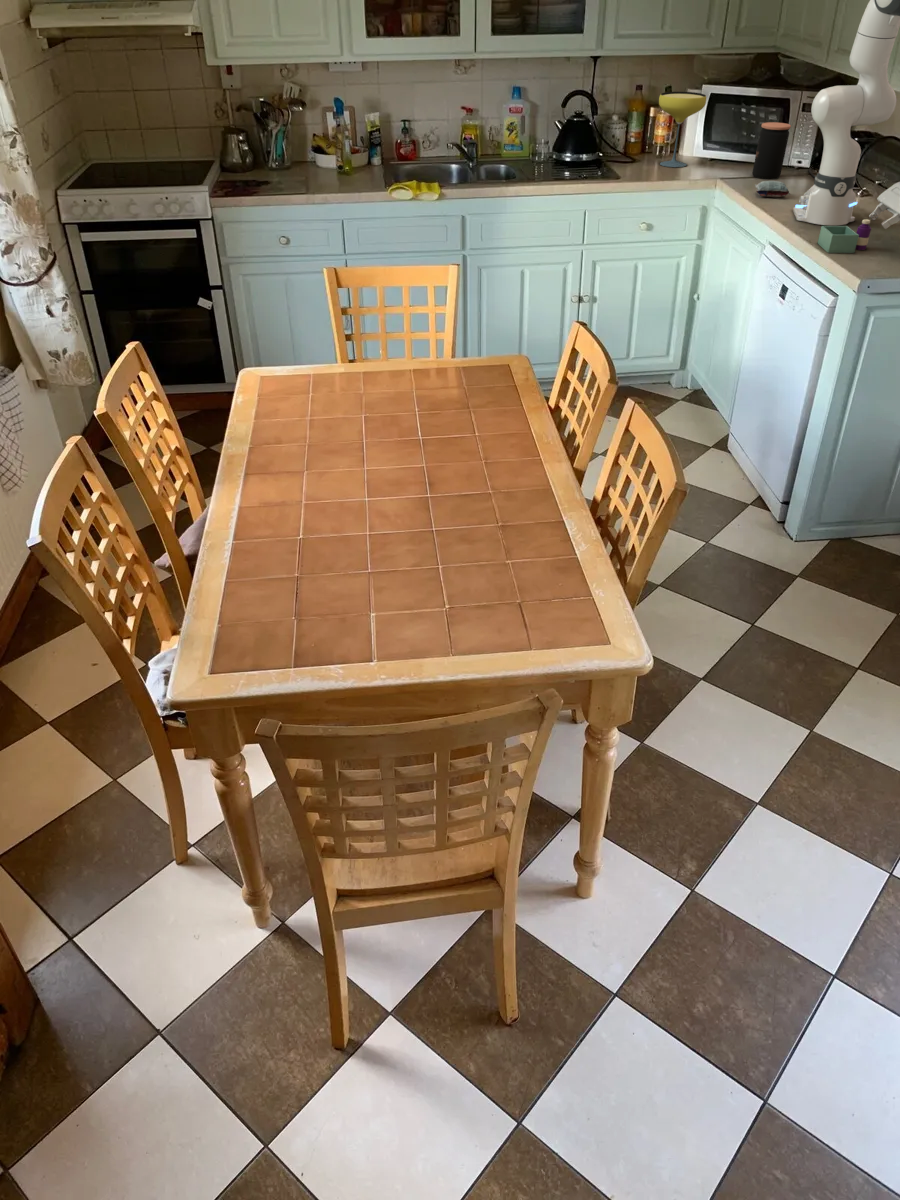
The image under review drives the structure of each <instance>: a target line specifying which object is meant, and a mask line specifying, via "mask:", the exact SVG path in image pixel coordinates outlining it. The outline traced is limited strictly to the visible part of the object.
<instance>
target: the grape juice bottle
mask: <svg viewBox="0 0 900 1200" xmlns="http://www.w3.org/2000/svg"><path fill="white" fill-rule="evenodd" d="M870 224H871V219H867V218H866V219H862V221H861V224H860V225H858V226H857V229H856V233H857V234H858V235H859V237H858V241H857V244H856V248H855V250H856V251H865V250H867V246H868V243H869V240H870V239H869V238H870V235H871V231H872V227H871V225H870Z"/></svg>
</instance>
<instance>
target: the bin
mask: <svg viewBox="0 0 900 1200" xmlns="http://www.w3.org/2000/svg"><path fill="white" fill-rule="evenodd" d="M856 232H857V231H856ZM856 232H855V231H854V230H853V229H852V228H850V227H849V226H848V225H821V227H820V231H819V234H818V239H817V245H818V246H819V247H821V248H822V249H823V250H824V251H825V252H826V253H828V254H855V251H856V249H855V248H856V244H857V241H858V237H859V235H858V234H857V233H856Z"/></svg>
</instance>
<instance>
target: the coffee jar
mask: <svg viewBox="0 0 900 1200" xmlns="http://www.w3.org/2000/svg"><path fill="white" fill-rule="evenodd" d="M791 127H792V125H791V124H790V123H785V122H776V121H774V122H773V121H770V122H769V121H768V122H762V123H761V130H760V131H759V136H758V142H757V146H756V151H755V152H756V153H755V157H754V162H753V163H754V164H753V167H752V175H753V177H754V178H757V179H761V180H775V179H776V180H777V179H778V178H779V177H780V176H781V174H782V170H783V166H784V161H785V155H786V151H787V146H788V141H789V137H790V129H791Z"/></svg>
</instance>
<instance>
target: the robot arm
mask: <svg viewBox="0 0 900 1200" xmlns="http://www.w3.org/2000/svg"><path fill="white" fill-rule="evenodd" d="M899 29H900V0H869V1H868V2H867V4H866V7H865V9H864V12H863V13H862V16H861V19H860V22H859V25H858V28H857V31H856V34H855V37H854V41H853V43H852V47H851V50H850V52H849V53H850V54H849V65H850V67H851V68H852V69H853V70H854V71H855V72H856V73H858V74H859V75H858V76H859V77H858V82H857V84H851V85H849V84H847V85H846V84H845V85H834V86H830V87H826V88H823V89H821V90H819V91H818V92H817V94H816V95H815V97H814V98H813V101H812V103H811V110H810V112H811V113H810V114H811V117H812V119H813V122H814V123H815V124H816V125H817V126H818V127H819V129H820V132H821V134H822V139H823V150H822V156H821V161H820V164H819V165H818V166H816V167H817V168H819V170H818V172H817V174H816V175H815V174H814V173H813V172H812V170H813V168H814V167H812V166H811V167H812V168H811V167H810V168H809V169H808V173H809V174H810V176H811V177H812V178H814V181H813V185H812V186H811V187H810V188H808V189H807V190H806V191H805V192H804V193H803V195H800V196H799V201H798V203H799V204H795V206H793V208H792V211H793V214H794V217H795V219H796V221H799V222H804V223H805V222H806V223H810V224H815V225H819V226H820V225H821V226H845V225H847V224H849V223H852V222H854V221H856V217H855V216H853V211H854V206H856V205H857V204H858V201H856V196H857V195H856V194H857V193H855V192H854V190H853V189H854V187H855V183H856V179H857V169H858V165H859V162H860V158H861V153H862V149H861V148H862V147H861V146H860V144H859V143H858V142H857V141H856V140H855V139H853V138H852V136H851V130H852V129H851V128H852V127H854V126H855V127H857V126H860V127H861V126H873V125H877V124H881V123H885V122H887V121H888V120H889V119H890V118H891V116H892V115H893V113H894V112H895V110H896V106H897V93H896V92H895V90H894V88H893V87H892V85H891V84H890V81H889V75H888V69H889V64H890V63H889V62H890V59H891V55H892V52H893V48H894V46H895V42H896V39H897V36H898V33H899ZM876 200H877V202H878V203H879V204H877V205H876V207H875V209H874V210H873V211H872V212H871V213H870V214H869V215H868V217H869V218H870V220H872V221H876V220H877V219H878V218H879V216H880V215H881V213H883V212H885V211H888V212H889V213H891V214H892V216H891V217H889V218H888V219H884V220H883V221H882V222H881V223H880V225H881V227H882V228H883V229H885V230H887V229H888V228H890V227H891V226H892V225H895V224H897V223H899V222H900V181H898V182H895V183H894V184H893V185H891V186H890V187H887V189H885V190H884V191H883V192H882V193H880V194H879V195H878V197H877V198H876Z"/></svg>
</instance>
